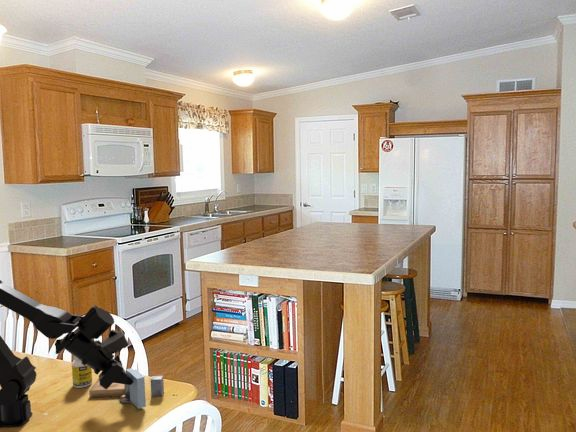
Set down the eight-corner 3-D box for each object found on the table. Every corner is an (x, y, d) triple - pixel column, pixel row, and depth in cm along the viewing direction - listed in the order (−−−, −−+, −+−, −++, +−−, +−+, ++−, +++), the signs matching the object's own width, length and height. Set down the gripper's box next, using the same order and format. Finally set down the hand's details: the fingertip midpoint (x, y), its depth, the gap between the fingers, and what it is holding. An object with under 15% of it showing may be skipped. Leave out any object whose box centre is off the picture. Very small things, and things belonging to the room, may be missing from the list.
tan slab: (83, 405, 137) (81, 380, 136) (100, 382, 152) (99, 360, 151) (139, 403, 138) (137, 378, 137) (150, 380, 152) (149, 358, 152)
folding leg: (126, 396, 140) (125, 368, 139) (133, 394, 141) (132, 366, 140) (138, 408, 133) (136, 378, 132) (145, 406, 134) (144, 376, 133)
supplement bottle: (79, 390, 147) (77, 357, 146) (69, 385, 150) (67, 353, 149) (96, 383, 151) (94, 352, 150) (86, 379, 154) (84, 348, 153)
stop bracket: (151, 396, 141) (150, 379, 141) (153, 392, 144) (152, 376, 143) (161, 396, 141) (161, 379, 141) (163, 392, 144) (163, 375, 143)
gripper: (112, 334, 123) (159, 370, 129) (104, 315, 140) (146, 348, 145) (79, 371, 120) (128, 406, 126) (75, 347, 137) (119, 379, 142)
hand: (131, 382), depth 135 cm, fingers closed, pressing on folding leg
